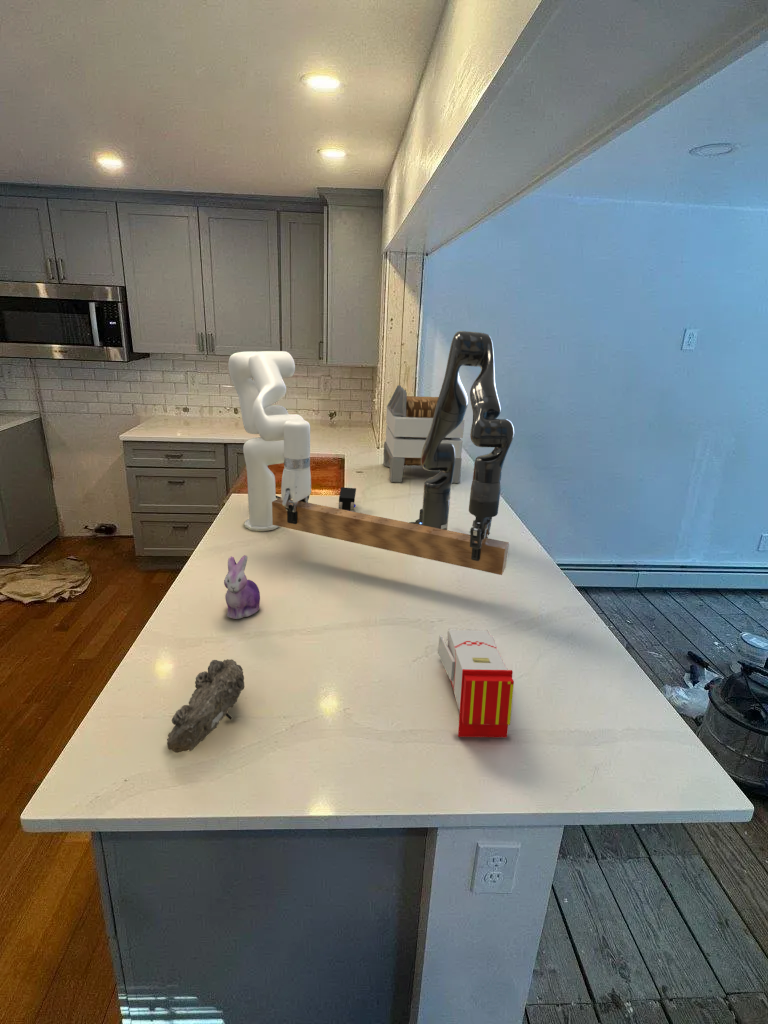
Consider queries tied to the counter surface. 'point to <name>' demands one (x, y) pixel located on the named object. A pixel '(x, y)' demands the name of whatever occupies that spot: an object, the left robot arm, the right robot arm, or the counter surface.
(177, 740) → the fossil
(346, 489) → the figurine character
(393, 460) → the grey storage crate
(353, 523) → the post
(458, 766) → the counter surface
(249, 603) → the figurine
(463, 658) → the toy
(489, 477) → the right robot arm
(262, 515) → the left robot arm
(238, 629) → the counter surface
